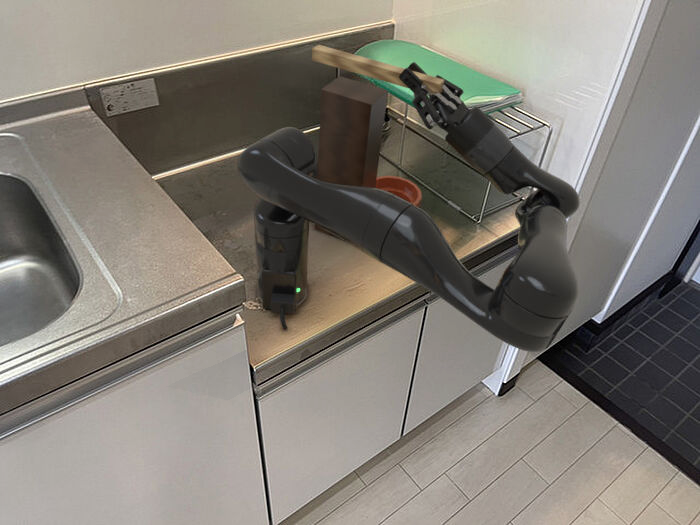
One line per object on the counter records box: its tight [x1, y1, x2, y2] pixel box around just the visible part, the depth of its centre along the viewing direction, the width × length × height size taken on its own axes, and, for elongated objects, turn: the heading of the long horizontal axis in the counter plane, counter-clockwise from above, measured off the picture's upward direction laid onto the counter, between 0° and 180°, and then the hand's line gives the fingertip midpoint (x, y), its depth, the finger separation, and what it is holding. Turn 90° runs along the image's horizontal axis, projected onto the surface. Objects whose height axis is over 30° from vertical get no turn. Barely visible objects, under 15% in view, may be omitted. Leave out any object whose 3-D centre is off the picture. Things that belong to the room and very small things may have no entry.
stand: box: [314, 75, 389, 242], centre depth 108 cm, size 10×7×32 cm
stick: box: [311, 44, 445, 93], centre depth 93 cm, size 24×2×2 cm, turn 63°
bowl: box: [375, 175, 423, 209], centre depth 122 cm, size 13×13×6 cm
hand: (406, 69), depth 91 cm, fingers closed on stick, 2 cm apart
